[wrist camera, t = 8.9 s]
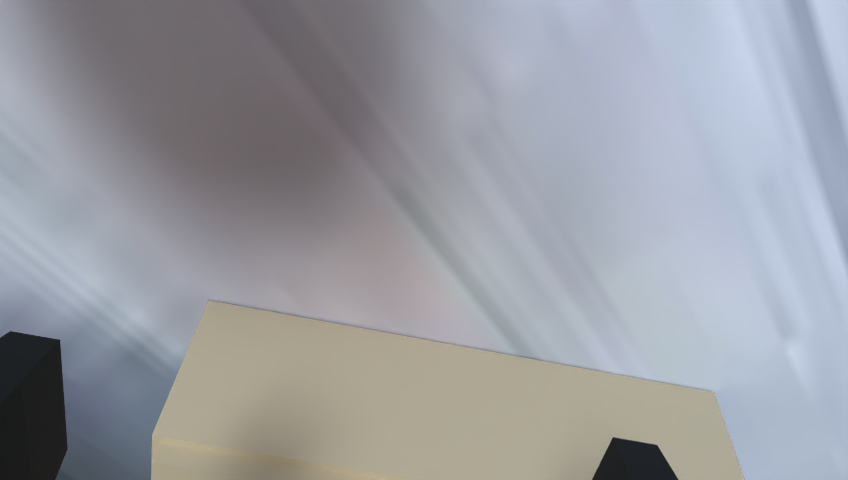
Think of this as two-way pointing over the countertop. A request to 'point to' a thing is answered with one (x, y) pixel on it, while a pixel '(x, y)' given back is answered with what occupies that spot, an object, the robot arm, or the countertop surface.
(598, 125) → the countertop surface
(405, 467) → the carton
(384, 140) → the countertop surface
